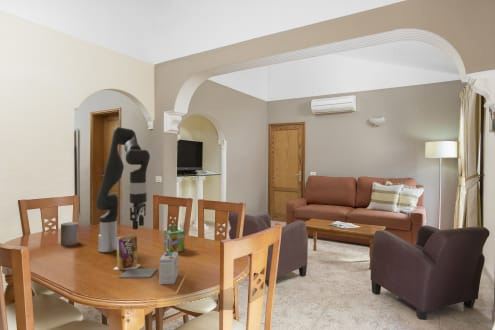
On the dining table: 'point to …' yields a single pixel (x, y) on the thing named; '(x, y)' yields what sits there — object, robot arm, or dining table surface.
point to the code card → (128, 268)
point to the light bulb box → (168, 268)
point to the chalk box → (174, 240)
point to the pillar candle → (69, 233)
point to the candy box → (126, 251)
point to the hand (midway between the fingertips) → (138, 227)
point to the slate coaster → (138, 273)
